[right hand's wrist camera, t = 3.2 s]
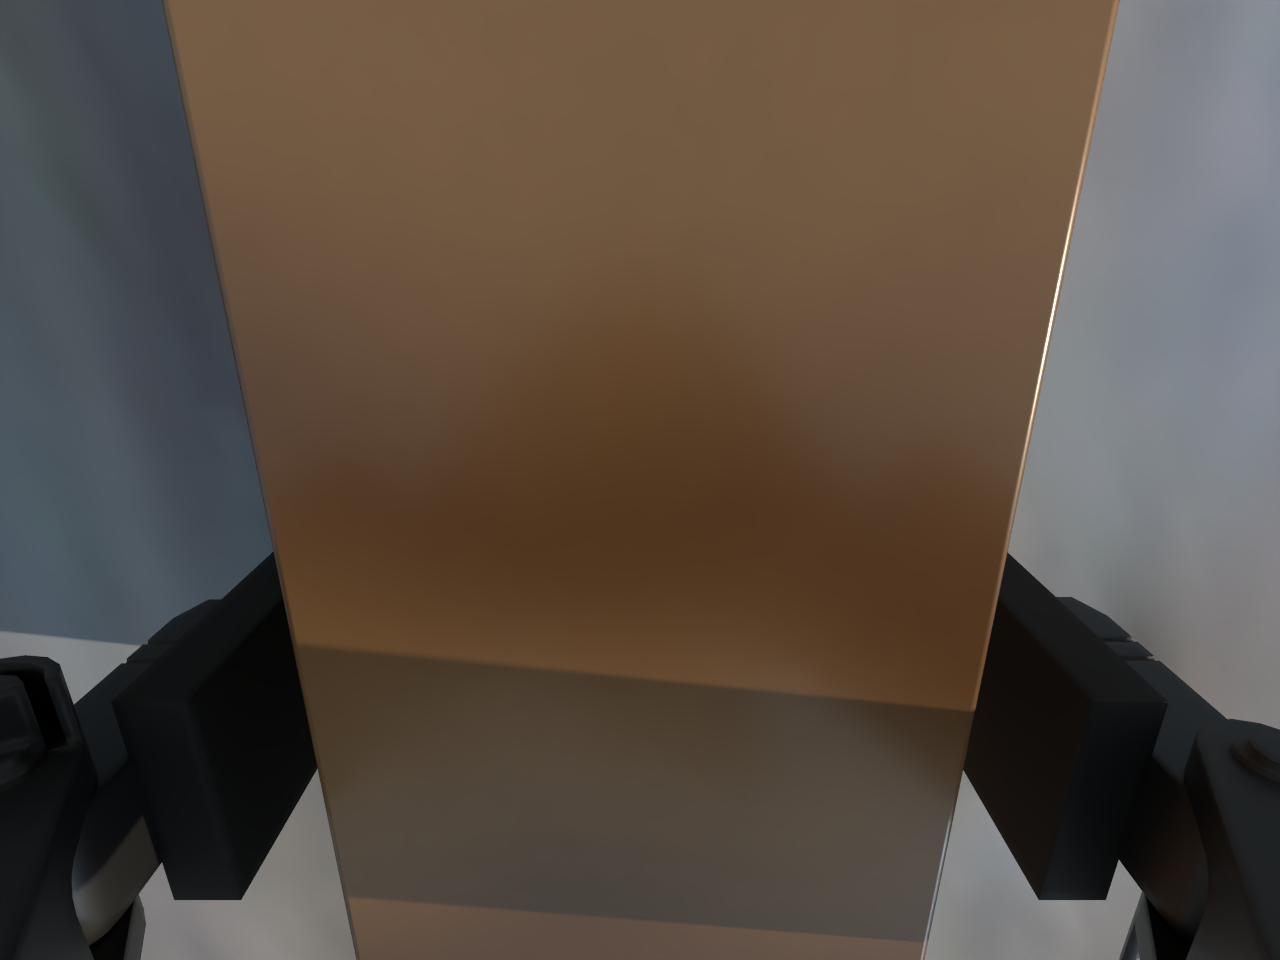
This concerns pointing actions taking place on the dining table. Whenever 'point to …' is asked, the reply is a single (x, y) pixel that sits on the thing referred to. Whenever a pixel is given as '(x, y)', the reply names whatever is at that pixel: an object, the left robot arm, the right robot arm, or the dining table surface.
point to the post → (640, 439)
